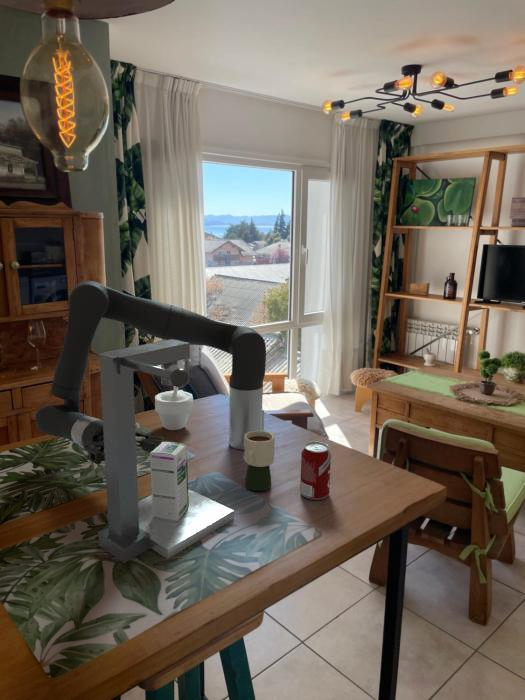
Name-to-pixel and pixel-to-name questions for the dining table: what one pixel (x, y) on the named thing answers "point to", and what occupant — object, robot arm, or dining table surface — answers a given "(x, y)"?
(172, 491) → the syrup box
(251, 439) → the character mug
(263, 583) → the dining table surface
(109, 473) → the bench press
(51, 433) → the robot arm
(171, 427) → the mortar and pestle
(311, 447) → the soda can
